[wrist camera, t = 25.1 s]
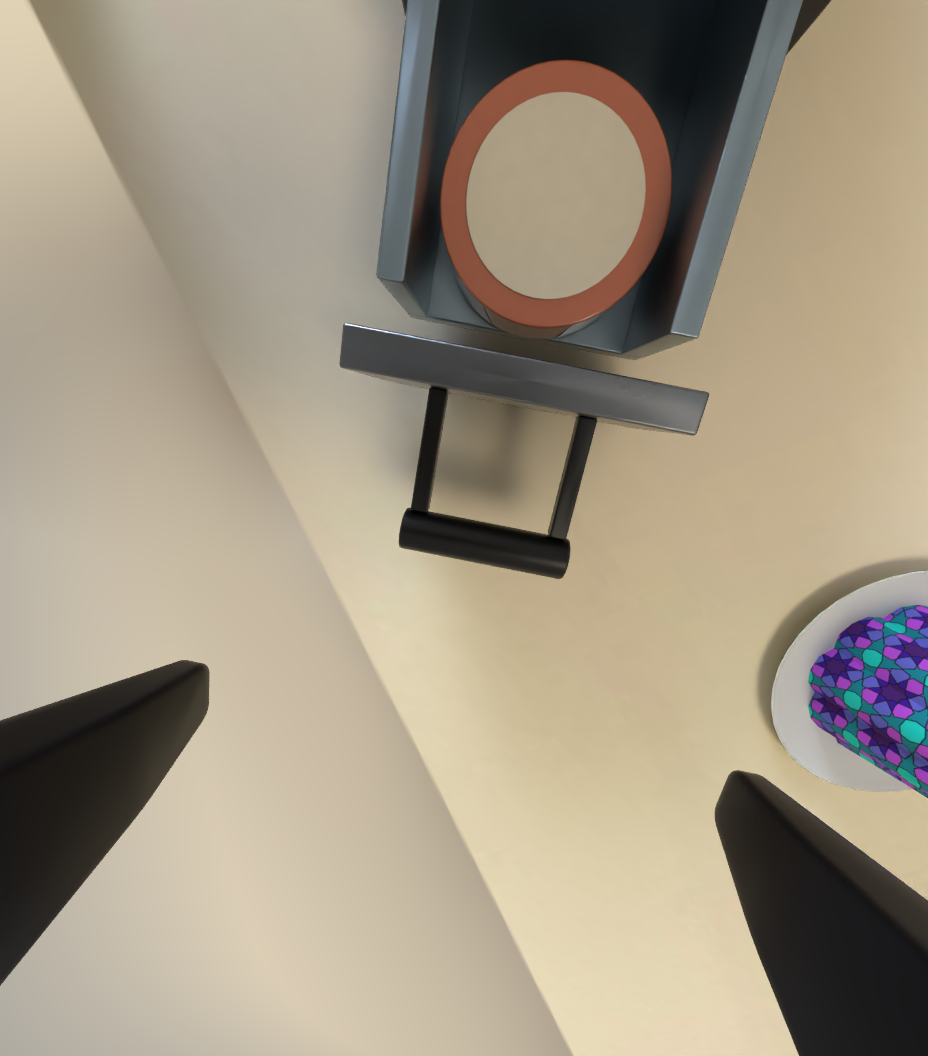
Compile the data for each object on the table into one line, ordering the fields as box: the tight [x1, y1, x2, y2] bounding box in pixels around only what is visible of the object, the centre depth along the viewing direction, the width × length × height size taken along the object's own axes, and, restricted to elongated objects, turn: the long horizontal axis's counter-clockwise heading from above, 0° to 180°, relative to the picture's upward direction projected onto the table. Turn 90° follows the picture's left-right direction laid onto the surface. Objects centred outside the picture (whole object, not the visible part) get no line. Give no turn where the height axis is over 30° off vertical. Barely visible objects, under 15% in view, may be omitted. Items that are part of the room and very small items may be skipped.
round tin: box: [440, 60, 672, 339], centre depth 14 cm, size 7×7×3 cm
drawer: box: [340, 0, 803, 579], centre depth 14 cm, size 20×10×6 cm, turn 170°
